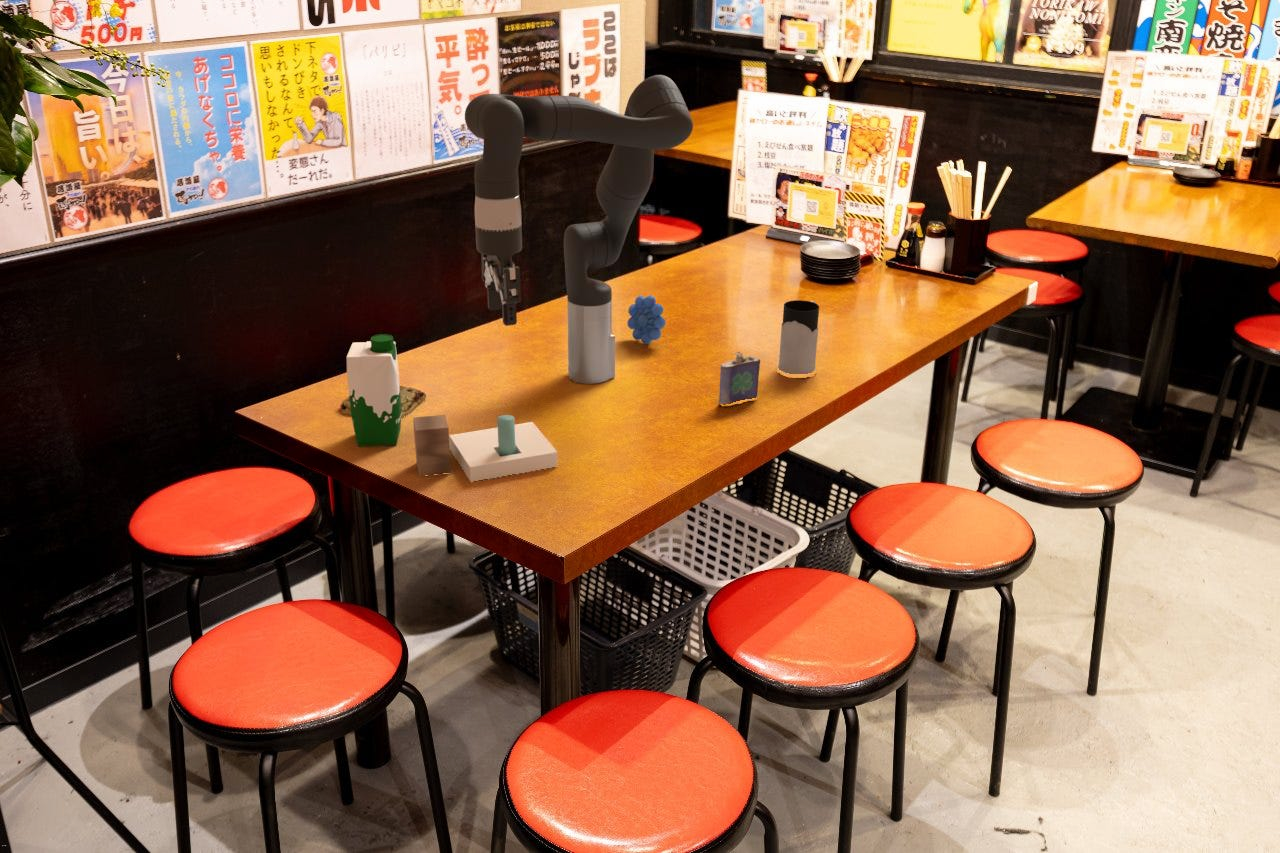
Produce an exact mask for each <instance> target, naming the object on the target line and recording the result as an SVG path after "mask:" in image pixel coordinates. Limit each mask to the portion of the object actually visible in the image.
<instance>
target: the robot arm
mask: <svg viewBox="0 0 1280 853" xmlns="http://www.w3.org/2000/svg"><path fill="white" fill-rule="evenodd" d="M464 121H465V125H466V126H467V127H466V128H467V129H468V130H469V131H470V132H471V134H473V135H474V136H475V137H477V138H479V139H482V140H483V147H482V148H483V149H482V157H481V158H479V159H478V160H477V161H476V163H475V165H474V192H475V193H474V194H475V195H474V196H475V198H474V199H475V200H474V222H475V224H474V225H475V227H474V228H475V245H476V246H475V248H476V251H477V252H478V253H479V254H481V255H480V256H481V280H482V282H484V286H485V288H486V290H487V291H486V292H487V294H486V295H487V308H488V309H489V311H498V310H501V309H502V324H503V325H504V326H505V327H506V326H515V325H516V324H517V322H518V321H517V320H518V319H517V318H518V316H517V304H518V303H521V302H522V292H521V290H522V289H521V288H522V287H521V269H520V266H518V265H517V266H515V265H516V264H515V262H513V259H512V258H513V256H514V255H515V254H518V253H520V252H521V251H522V249H523V232H522V231H523V228H522V227H523V226H522V224H523V222H522V206H521V200H520V180H519V165H520V162H521V156H522V151H523V145H524V139H526V138H527V139H530V140H533V141H541V142H542V141H543V142H547V141H548V142H549V141H550V142H552V141H554V142H555V141H557V142H558V141H589V142H597V143H604V144H605V143H606V144H610V145H613V146H612V149H611V152H610V154H609V156H608V159H607V162H606V163H605V165H604V167H603V169H602V172H601V174H600V176H599V178H598V180H597V183H596V188H595V190H596V191H595V194H596V198H597V200H598V203H599V205H600V207H601V209H602V210H603V212H604V213H605V218H603V219H602V220H600V221H594V222H584V223H574V224H570V225H568V226H567V227H566V228H565V231H564V234H563V235H564V236H563V255H564V256H563V257H564V269H565V285H566V286H565V288H566V293H567V294H566V295H567V297H566V298H567V301H566V302H567V355H568V356H567V357H568V358H567V359H568V360H567V361H568V365H567V366H568V367H567V368H568V369H567V370H568V378H569V379H570V380H571V381H573V382H575V383H578V384H587V385H588V384H594V385H595V384H601V383H605V382H607V381H609V380H610V379H614V378H616V335H615V334H613V332H612V331H613V330H612V329H613V328H612V325H613V324H612V322H613V320H612V318H613V317H612V316H613V314H612V313H613V312H612V310H613V308H612V306H613V304H612V303H613V302H612V299H613V293H612V290H613V289H612V287H611V286H610V285H609V284H608V283H607V282H605V281H603V280H598V279H594V278H590V277H588V270H589V269H590V270H591V269H592V270H593V269H598V268H606V267H610V266H612V265H613V264H615V263H616V262H617V260H618V259H619V257H620V254H621V253H622V249H623V246H624V244H625V241H626V237H627V234H628V232H629V229H630V227H631V224H632V223H633V221H634V218H635V216H636V214H637V211H638V209H639V208H640V207H641V204H642V203H643V202H644V199H645V198H646V196H647V194H648V191H649V189H650V187H651V185H652V180H653V176H654V166H655V164H654V163H655V160H654V158H655V151H663V150H664V151H665V150H669V149H673V148H675V147H678V146H680V145H681V144H683V143H684V142H685V141H686V140H687V139H689V137H690V136H691V134H692V132H693V129H694V123H693V118H692V116H691V113H690V111H689V109H688V106H687V104H686V102H685V100H684V97H683V95H682V93H681V91H680V89H679V87H678V86H677V84H676V83H675V82H674V81H673V80H672V78H670V77H668V76H666V75H664V74H655V75H652V76H649V77H647V78H645V79H644V80H643V81H641V82H640V83H639V84H638V85H637V86H636V87H635V88H634V90H633V91H632V93H631V94H630V96H629V98H628V100H627V103H626V107H625V111H624V114H621V113H619V112H616V111H613V110H611V109H608V108H606V107H603V106H602V105H599V104H598V103H595V102H593V101H591V100H588V99H585V98H582V97H579V96H575V95H574V96H573V95H541V96H540V95H538V96H522V95H513V94H503V93H502V94H501V93H485V94H484V93H483V94H480V95H477V96H475V97H474V98H472V99H471V100H470V101H469V102H468V104H467V106H466V108H465V111H464ZM510 292H511V295H510Z"/></svg>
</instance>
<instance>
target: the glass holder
mask: <svg viewBox="0 0 1280 853" xmlns="http://www.w3.org/2000/svg"><path fill="white" fill-rule="evenodd" d="M782 312H783V313H782V314H783V315H782V323H781V329H780V344H779V355H778V356H779V357H778V358H779V360H778V365H777V367H778V368H779V370H781V371H783V372H785V373H789V374H808V373H812V372H813V371H815V369H816V359H817V358H816V357H817V348H818V347H817V346H818V338H819V337H818V336H819V326H818V325H819V316H820V315H819V314H820V306H819V304H817V303H816V302H815V301H814V300H810V301H809V300H803V299H802V300H801V299H799V300H798V299H795V300H788V301H786V302H784V304H783V311H782Z"/></svg>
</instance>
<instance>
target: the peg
mask: <svg viewBox="0 0 1280 853" xmlns="http://www.w3.org/2000/svg"><path fill="white" fill-rule="evenodd" d="M496 421H497V425H496V426H497V427H498V445H499V456H500V457H501V456H507V455H513V454H516V446H515V425H516V424H515V416H513V415H512V414H511V415H510V414H502V415H500V416H497V417H496Z"/></svg>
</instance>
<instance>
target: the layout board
mask: <svg viewBox="0 0 1280 853" xmlns="http://www.w3.org/2000/svg"><path fill="white" fill-rule="evenodd" d="M449 444H450V450H451V451H450V453H451V454H452V455H453V457H454V458H455V460H456V459H457V460H456V461H458V462H459V463H458V462H457V463H458V465H459V464H460V465H459V467H460V468H461V467H462V468H461V469H462V471H463V470H464V471H463V472H465V473H466V474H465V473H464V474H465V476H466V475H467V476H468V477H467V476H466V477H467V478H469V479H470V480H469V479H468V480H469V482H470V481H477V482H479V481H478V480H483V479H488V480H492V478H494V479H497V477H499V478H503V477H502V476H505V477H507V476H506V475H511V476H513V475H512V474H516V475H520V474H519V473H522V474H526V473H525V472H527V473H531V472H530V471H533V472H536V471H535V470H538V471H541V470H540V469H544V470H547V469H546V468H550V469H553V468H552V467H555V468H557V467H556V466H559V465H558V464H559V463H558V459H559V458H558V451H557V450H556V449H555V447H554V446H553V445H552V443H551V442H550V440H548V439H547V437H545V435H544V434H543V433H542V431H540V430H539V428H538V427H537V426H536V424H535V423H534V422H533V421H530V422H523V423H518V424H517V423H516V424H515V446H516V454H513V455H507V456H501V457H500V456H499V445H498V426H497V427H491V428H487V429H486V428H485V429H480V430H473V431H467V432H461V433H456V434H455V433H454V434H449ZM490 478H491V479H490ZM483 481H484V480H483Z"/></svg>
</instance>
